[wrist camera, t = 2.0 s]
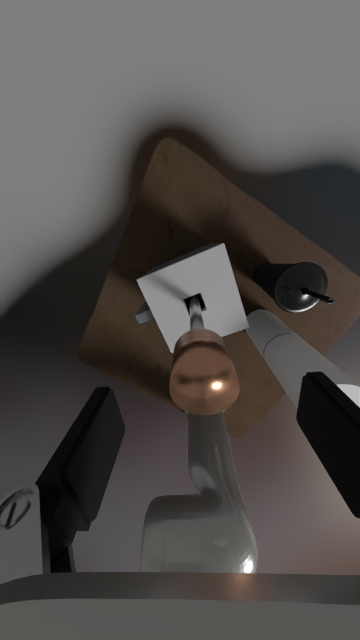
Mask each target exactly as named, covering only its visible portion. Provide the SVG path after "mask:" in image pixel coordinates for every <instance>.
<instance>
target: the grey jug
mask: <svg viewBox="0 0 360 640" xmlns="http://www.w3.org/2000/svg"><path fill="white" fill-rule="evenodd" d="M136 281H137V283H138V285H139V287H140V289H141V291H142V293H143V295H144V297H145V299H146V301H145V303H144V304H143V306H142V307H141V308H140V310H139V311H138V312H137V314H136V315H135V316H136V318H137V320H138V322H139V324H141V323H144V322H146V321H149V320H152V319H155V320H156V322H157V324H158V326H159V328H160V330H161V332H162V334H163V336H164V338H165V341H166V343H167V345H168V347H169V349H170V351H171V353H174V347H175V344H176V342H177V340H178V339H179V337H180V336H181V335H183V334H184V333H186V332H187V331H190V313H189V311H188V309H187V306H186V304H185V302H184V299H185V298H188V297H190V296H193V295H196V294H198V293H201V295H202V298H203V301H204V303H205V306H206V307H205V308H202V309H201V312H202V317H203V322H204V327H205V329H208V330H211V331H213V332H215V333H217V334H218V335H219V336H220V337H223V336H226V335H229V334H232V333H235V332H238V331H241V330H244V329H247V328H249V325H248V322H247V318H246V315H245V312H244V308H243V305H242V302H241V298H240V295H239V291H238V288H237V285H236V281H235V278H234V274H233V271H232V268H231V264H230V261H229V258H228V254H227V251H226V247H225V244H224V243H210V244H207V245H205V246H202V247H200V248H198V249H195V250H193V251H191V252H188V253H186V254H184V255H181V256H179V257H176V258H174V259H172V260H169V261H167V262H165V263H162V264H160V265H158V266H156V267H154V268H153V269H151V270H150V271H148V272H147V273H146V274H144V275H143V276H141V277H140V278H138V279H137V280H136Z"/></svg>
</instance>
